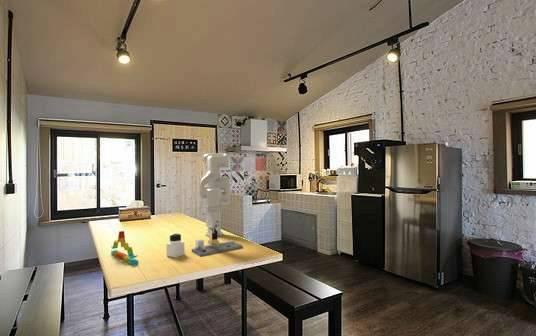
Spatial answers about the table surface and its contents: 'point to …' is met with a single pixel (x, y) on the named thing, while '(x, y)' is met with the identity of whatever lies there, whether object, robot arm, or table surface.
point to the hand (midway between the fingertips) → (213, 238)
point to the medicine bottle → (175, 246)
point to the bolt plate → (214, 247)
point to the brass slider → (211, 241)
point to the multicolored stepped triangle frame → (130, 256)
